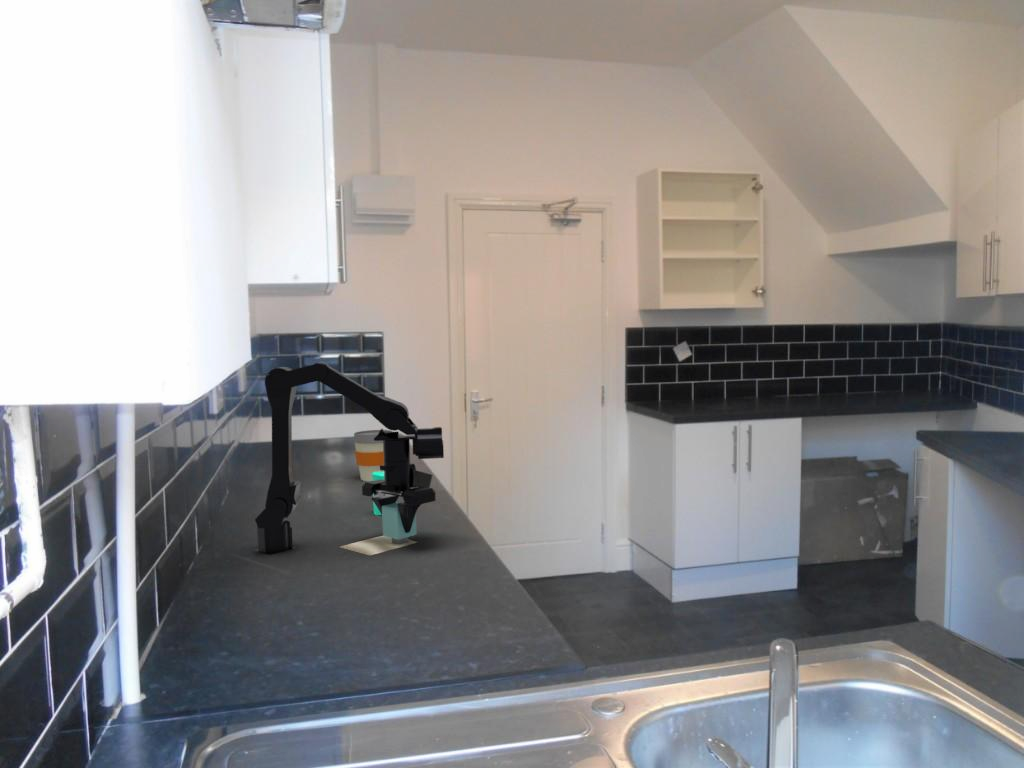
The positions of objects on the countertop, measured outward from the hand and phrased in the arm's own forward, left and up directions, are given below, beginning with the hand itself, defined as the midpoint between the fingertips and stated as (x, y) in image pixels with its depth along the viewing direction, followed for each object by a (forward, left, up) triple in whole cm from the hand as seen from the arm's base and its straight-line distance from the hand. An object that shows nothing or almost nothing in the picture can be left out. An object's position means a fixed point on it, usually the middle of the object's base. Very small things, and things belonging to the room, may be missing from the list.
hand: (399, 530), depth 177 cm
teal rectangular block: (0, 0, -1) cm, 1 cm away
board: (-4, +2, -3) cm, 6 cm away
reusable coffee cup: (+47, +70, -3) cm, 84 cm away
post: (0, 0, -3) cm, 3 cm away
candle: (+18, +28, -3) cm, 34 cm away
